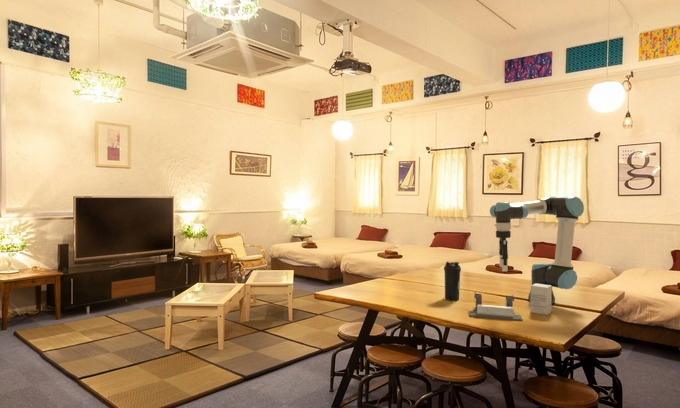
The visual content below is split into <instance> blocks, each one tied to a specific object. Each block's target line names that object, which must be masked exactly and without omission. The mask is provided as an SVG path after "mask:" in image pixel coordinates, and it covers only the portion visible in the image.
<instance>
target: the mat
mask: <svg viewBox="0 0 680 408" xmlns="http://www.w3.org/2000/svg"><path fill="white" fill-rule="evenodd" d="M468 314H469V315H468V316H469V317H470V318H481V319H492V320H493V319H495V320H504V321H505V320H507V321H517V322H518V321H519V322H523V321H524V320H523V318H522V315H521V314H514V317H503V316H490V315H478V314H477V311H474V310H468Z"/></svg>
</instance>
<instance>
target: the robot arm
mask: <svg viewBox="0 0 680 408" xmlns="http://www.w3.org/2000/svg"><path fill="white" fill-rule="evenodd" d="M584 211H585V206H584V202H583V201H582V199H581V198H580V197H578V196H573V195H566V196H565V195H559V196H558V195H557V196H554V195H553V196H548V197H543V198H537V199H536V200H534V201H533V200H532V201H524V202H514V203H511V202H509V201H499V202H496V203H495V204H493V205H492V206H490V208H489V215H490V216H491V217H493V218H495V224H494V227H495V230H496V231H495V237H496V238H497V239H499V241H498V243H499V245H498V246H499V249H498V253H499V268H501V271H502V272H509V271H508V269H509V268H508V267H509V266H508V264H509V263H508V259H509V251H508V243H509V242H508V240H507V239H510V238H511V234H512V233H511V229H512V227H511V226H512V224H511V220H517V219H519V220H521V219H527V217H528V215H533V214H534V215H535V214H537V215H541V216H542V215H549V216H556V217H555V219H556V220H557V221H558V223H557V225H558V226H557V232H556V233H557V234H556V244H555V255H554V261H553V262H552V263H534V264H532V265H531V281H530V282H531V283H530V284H531V285H533V284H535V283H537V284H544V285H551V286H552V288H553V287H554V288H557V289H558V288H559V289H561V290H562V289H563V290H570V289H572V288H573V287H574V286H576V284H577V281H578V274H577V272H576V271H575V270H574V265H573V263H572V257H573V256H572V255H573V244H574V235H575V234H574V233H575V225H576V223H577V222H578V221H579V217H581V216H582V215H583V214H584ZM527 297H528V298H527V300H528V301H529V302H531V289H530V290H529V292H528V296H527ZM554 302H555V303H556V296H555V294H554V291H553V289H552V295H551V304H555V303H554Z"/></svg>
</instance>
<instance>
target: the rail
mask: <svg viewBox="0 0 680 408" xmlns="http://www.w3.org/2000/svg"><path fill="white" fill-rule="evenodd" d="M476 312H477V314H478V315H490V316H503V317H514V315H515V311H514V307H506V306H503V305H501V306H500V305H489V304H488V305H487V304H482V305H477V311H476Z"/></svg>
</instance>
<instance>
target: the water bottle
mask: <svg viewBox="0 0 680 408" xmlns="http://www.w3.org/2000/svg"><path fill="white" fill-rule="evenodd" d="M443 270H444V271H443V272H444V300H446V301H453V302H454V301H455V302H456V301H459V300H460V290H461V289H460V286H461V271H462V267H461V266H460V262H459V261H452V262H450V261H446V262H445V265H444V267H443Z"/></svg>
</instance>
